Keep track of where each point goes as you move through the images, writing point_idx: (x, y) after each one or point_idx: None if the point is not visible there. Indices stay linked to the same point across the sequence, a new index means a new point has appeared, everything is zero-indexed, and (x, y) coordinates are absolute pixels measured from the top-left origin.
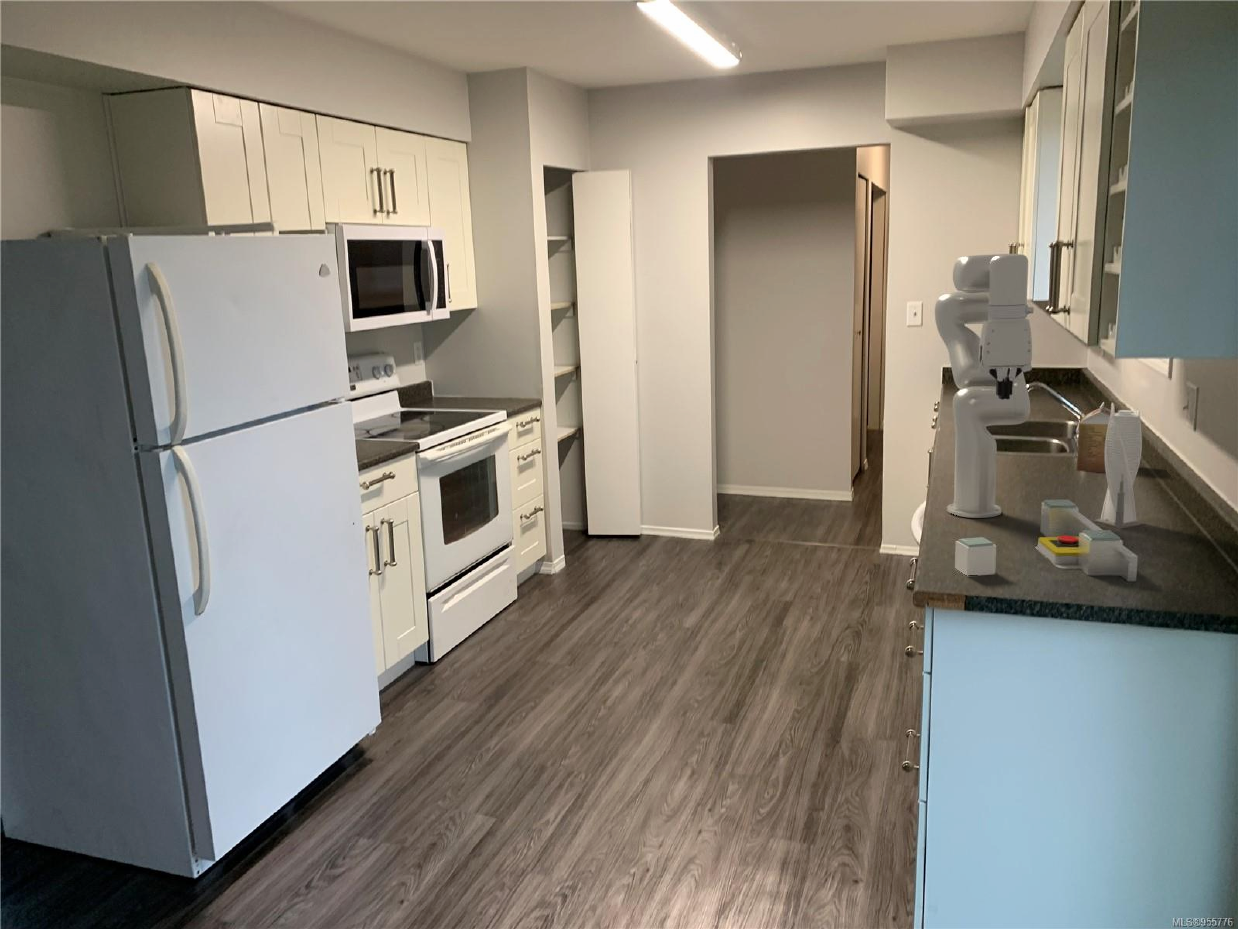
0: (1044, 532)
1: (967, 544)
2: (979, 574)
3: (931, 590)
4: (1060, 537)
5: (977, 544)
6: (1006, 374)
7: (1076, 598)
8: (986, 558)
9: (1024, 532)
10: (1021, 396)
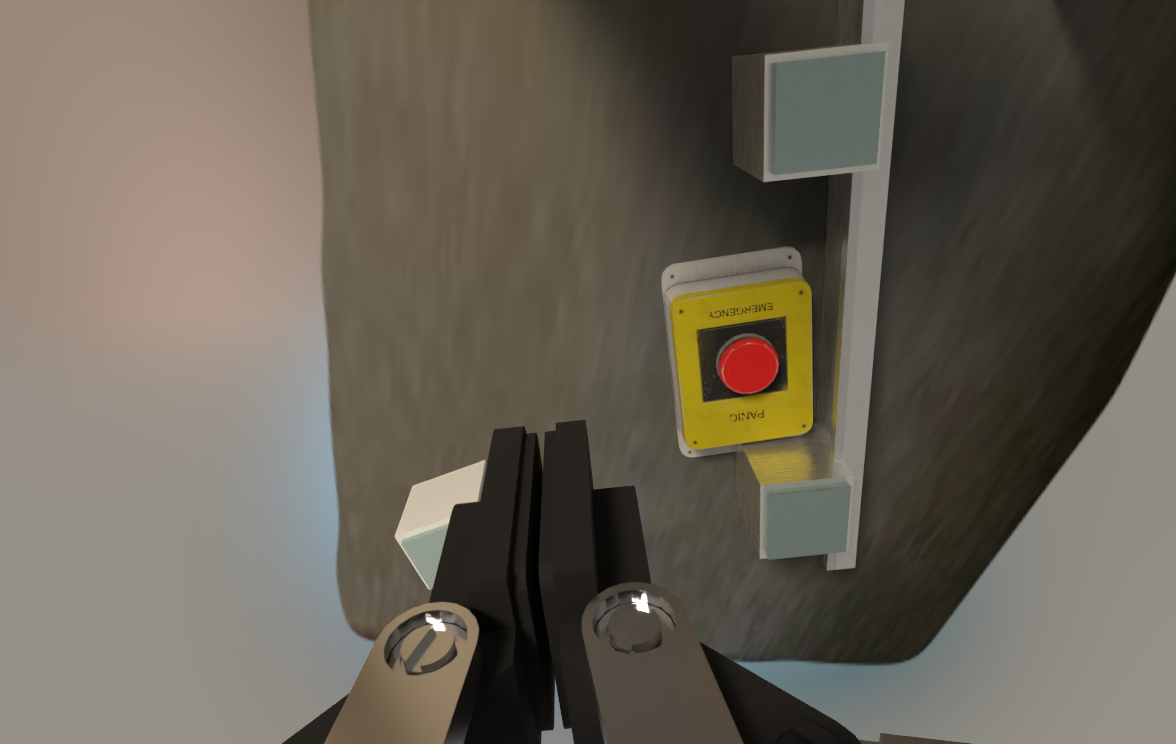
0: (734, 112)
1: (426, 583)
2: None
3: (363, 624)
4: (728, 364)
5: None
6: (590, 677)
7: None
8: None
9: (669, 74)
10: None
